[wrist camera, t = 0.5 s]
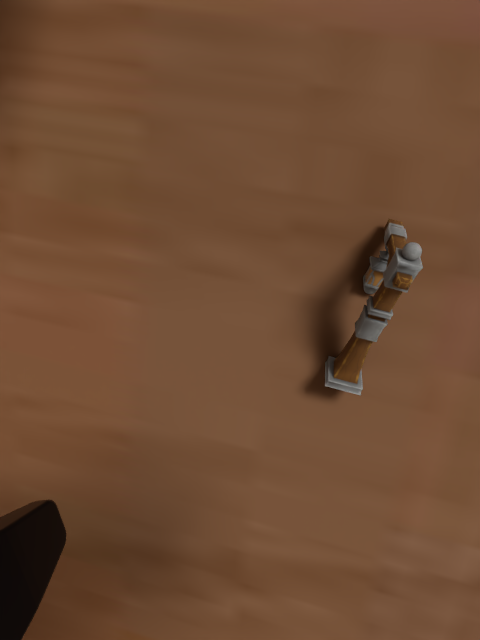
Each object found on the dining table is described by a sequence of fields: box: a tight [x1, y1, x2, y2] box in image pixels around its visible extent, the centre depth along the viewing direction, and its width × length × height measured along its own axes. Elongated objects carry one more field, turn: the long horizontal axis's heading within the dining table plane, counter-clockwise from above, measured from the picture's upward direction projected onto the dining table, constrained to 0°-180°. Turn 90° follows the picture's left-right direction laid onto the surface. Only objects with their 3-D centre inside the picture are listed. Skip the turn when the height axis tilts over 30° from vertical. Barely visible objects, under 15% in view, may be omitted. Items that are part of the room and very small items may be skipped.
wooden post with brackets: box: [325, 219, 423, 395], centre depth 20 cm, size 2×8×4 cm, turn 166°
